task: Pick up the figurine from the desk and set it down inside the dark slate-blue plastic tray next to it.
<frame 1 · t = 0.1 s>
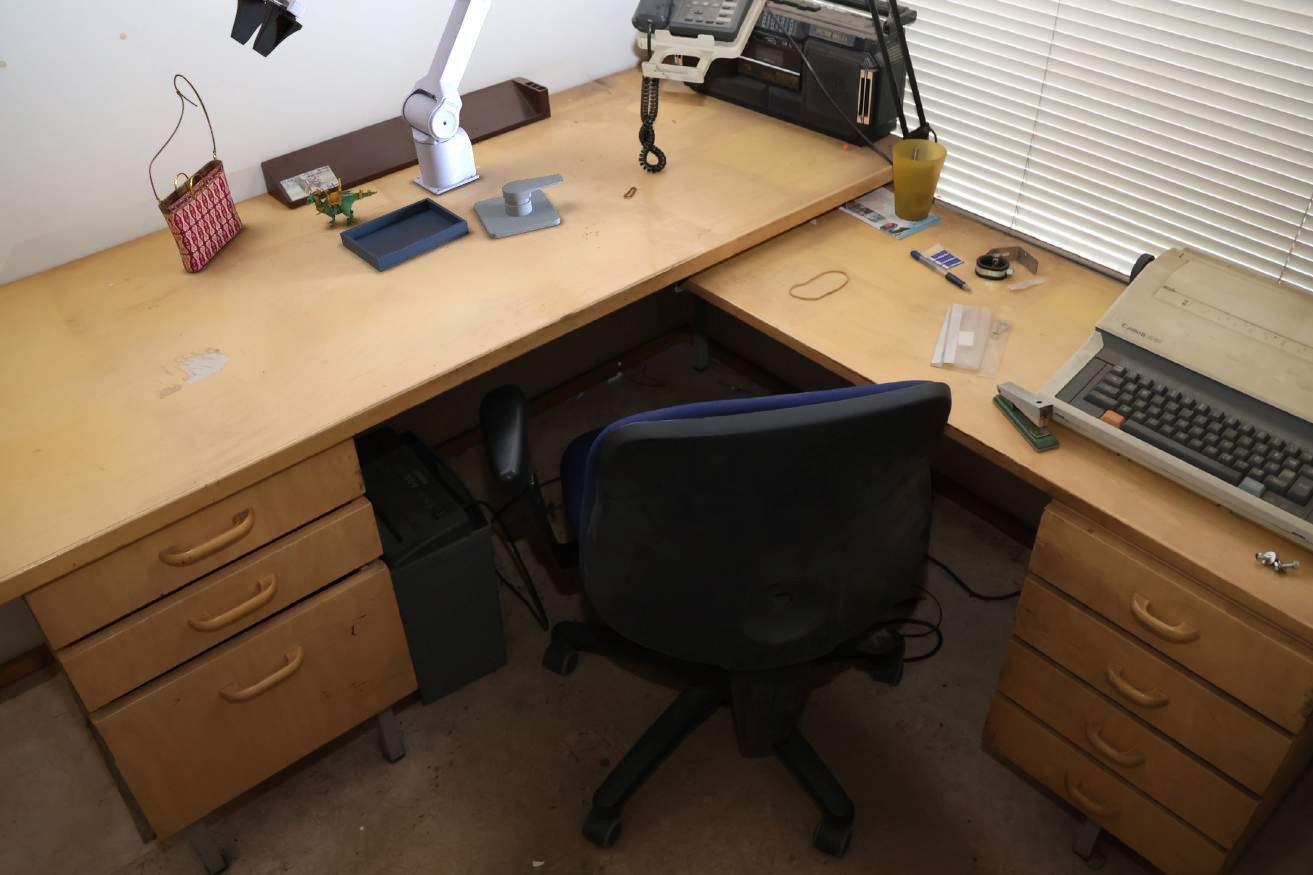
hand: (247, 47, 150), 32 cm above the table, tool tilted 50°, fingers open, 7 cm apart
figurine: (348, 223, 174), on the table
handbag: (211, 243, 171), on the table
tray: (406, 239, 168), on the table
shower valve: (524, 215, 174), on the table
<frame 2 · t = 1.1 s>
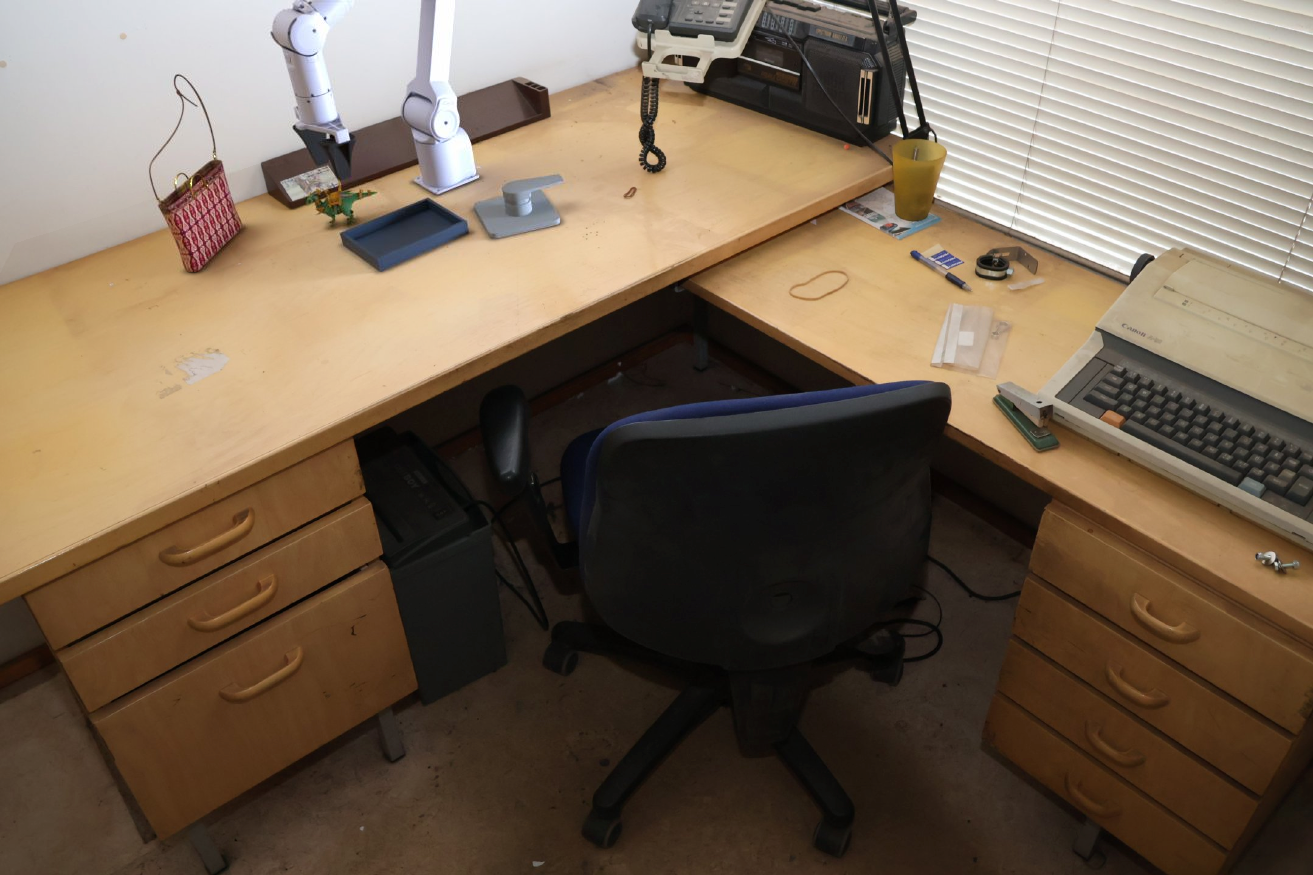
hand: (333, 171, 167), 10 cm above the table, tool pointing down, fingers open, 7 cm apart
nothing on the table moved.
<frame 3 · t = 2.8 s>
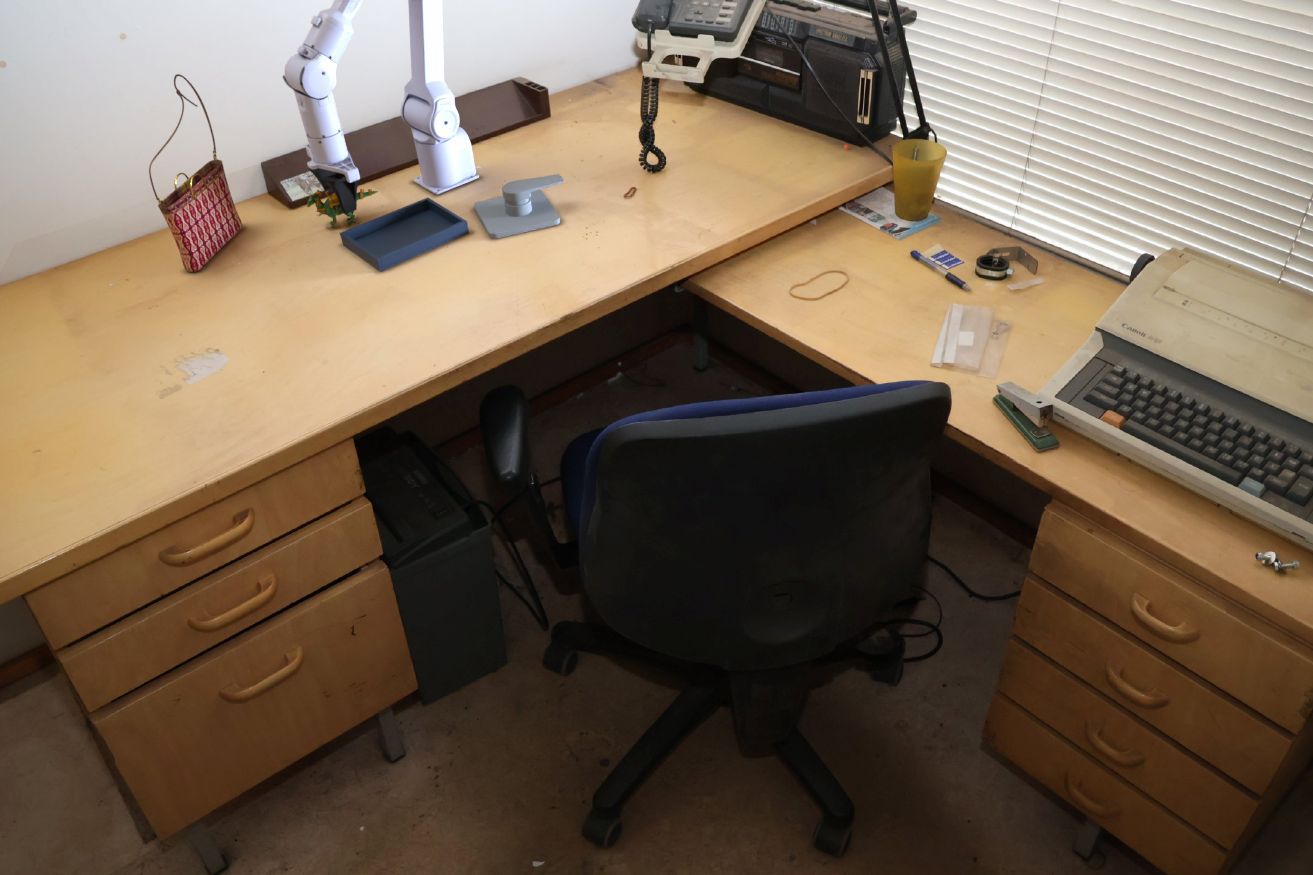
hand: (344, 207, 172), 3 cm above the table, tool pointing down, fingers closed on figurine, 3 cm apart
figurine: (349, 223, 174), on the table, touching gripper
everything else where it was.
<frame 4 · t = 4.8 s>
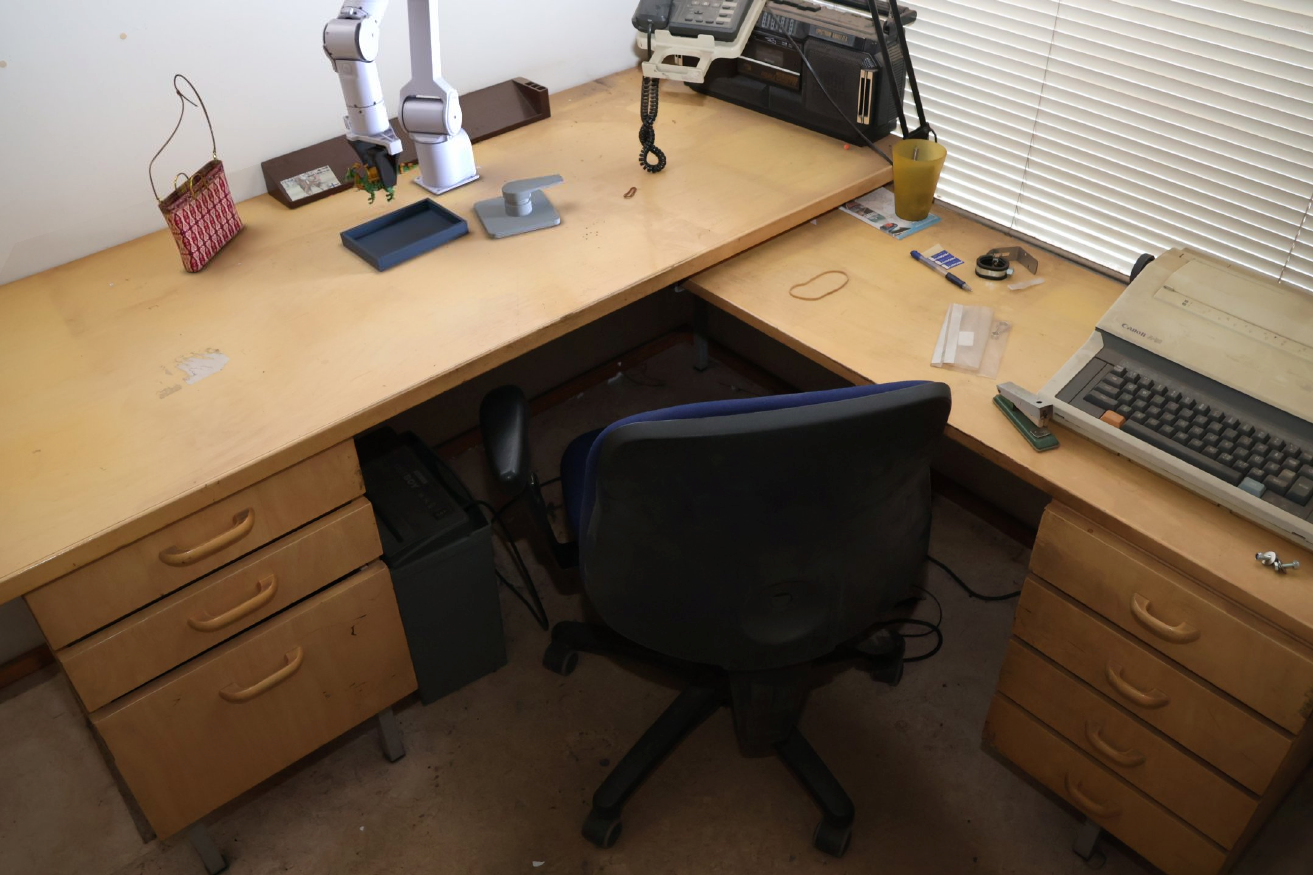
hand: (383, 182, 163), 10 cm above the table, tool pointing down, fingers closed on figurine, 3 cm apart
figurine: (388, 200, 165), point 7 cm above the table, touching gripper
everything else where it was.
when the fingers open (3 cm above the table, at t = 7.0 s): figurine stays where it is, resting on tray.
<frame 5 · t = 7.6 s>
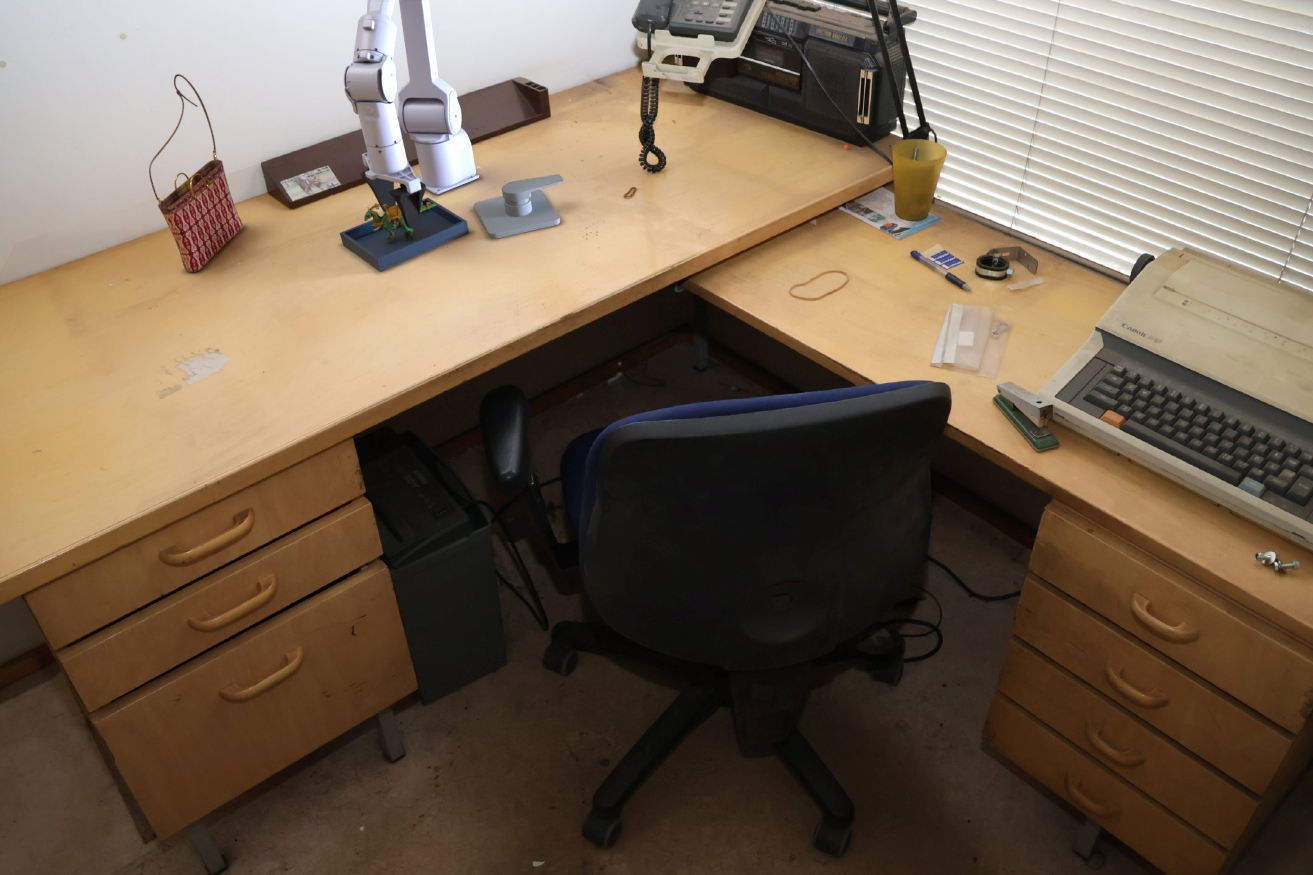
hand: (401, 218, 166), 4 cm above the table, tool pointing down, fingers open, 7 cm apart
figurine: (406, 237, 168), resting on tray
everything else where it was.
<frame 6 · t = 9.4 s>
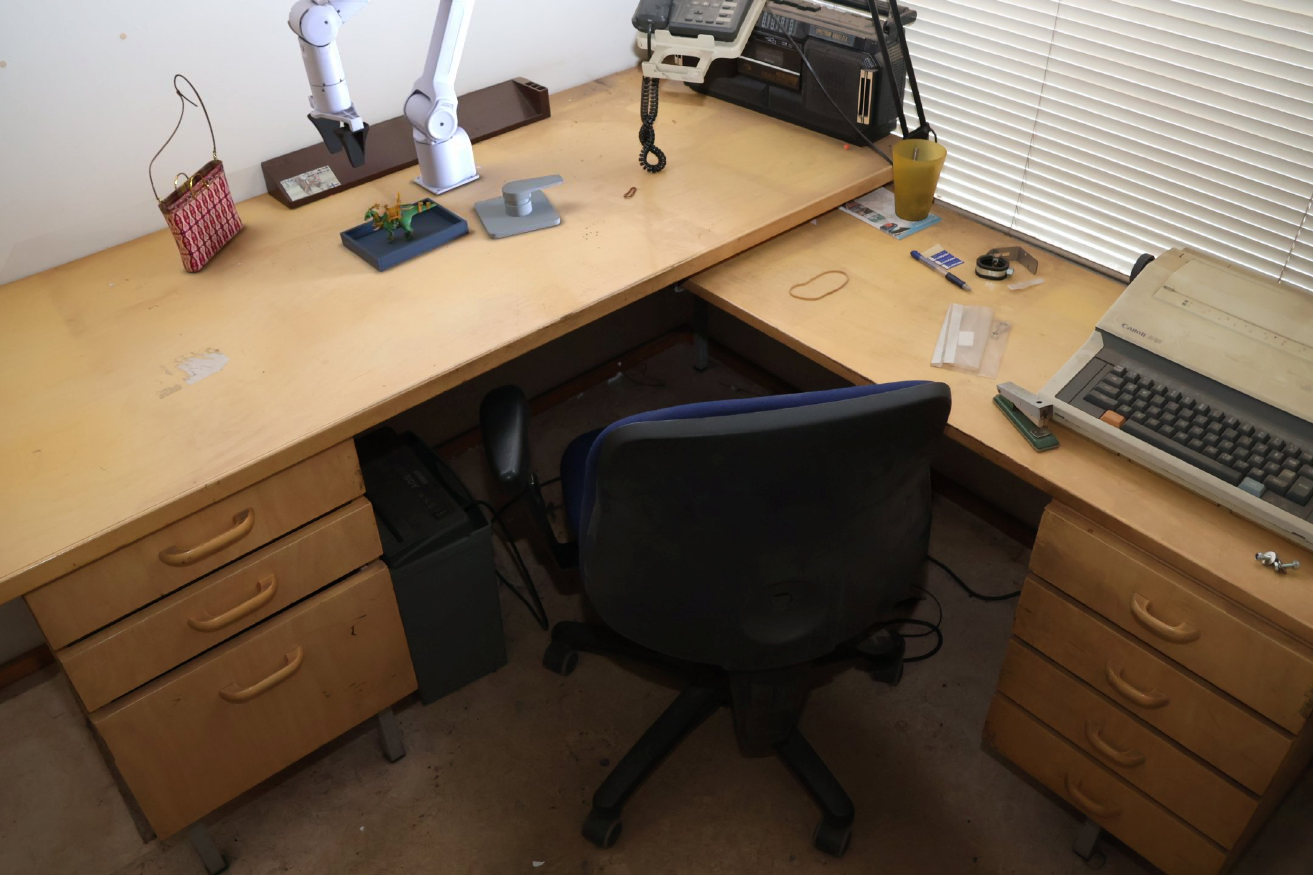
hand: (347, 158, 171), 9 cm above the table, tool pointing down, fingers open, 7 cm apart
nothing on the table moved.
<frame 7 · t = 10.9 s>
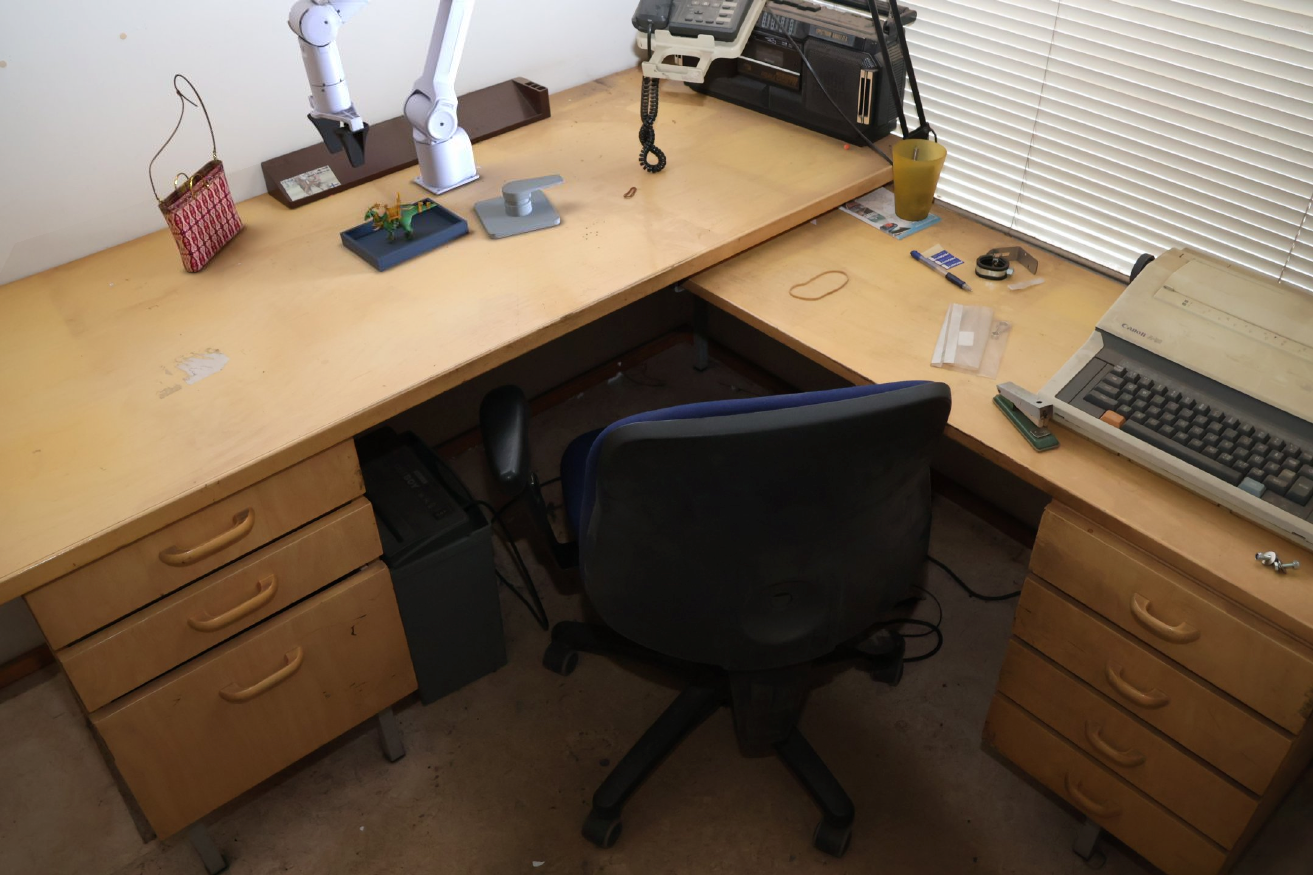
hand: (347, 158, 171), 9 cm above the table, tool pointing down, fingers open, 7 cm apart
nothing on the table moved.
at the end: figurine inside the target area in the tray (0.2 cm from its centre), point 0.3 cm above the tray's base; figurine tilted 0°; the gripper is holding nothing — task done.
